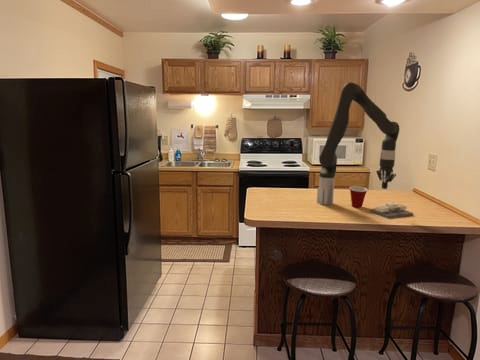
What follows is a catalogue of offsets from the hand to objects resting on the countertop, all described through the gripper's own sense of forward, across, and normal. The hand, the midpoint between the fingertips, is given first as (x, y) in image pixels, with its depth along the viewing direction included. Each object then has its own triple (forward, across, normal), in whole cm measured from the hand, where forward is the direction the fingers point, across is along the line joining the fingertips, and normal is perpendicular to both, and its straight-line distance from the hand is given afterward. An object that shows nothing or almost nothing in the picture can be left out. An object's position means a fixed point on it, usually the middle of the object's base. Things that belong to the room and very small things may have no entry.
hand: (384, 188), depth 190 cm
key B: (+13, 0, +6) cm, 14 cm away
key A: (+14, 0, 0) cm, 14 cm away
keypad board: (+15, 0, +6) cm, 16 cm away
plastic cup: (+15, -18, -3) cm, 24 cm away
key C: (+14, 0, +13) cm, 19 cm away
